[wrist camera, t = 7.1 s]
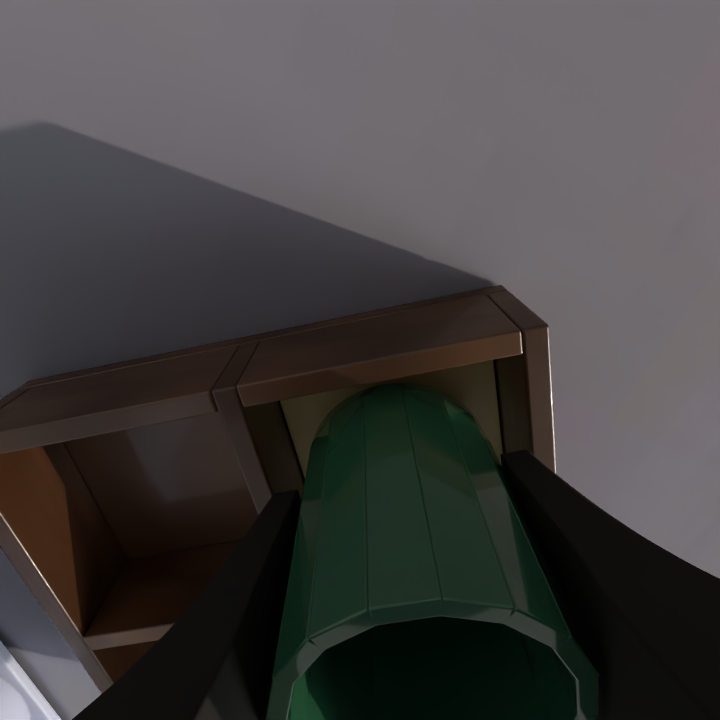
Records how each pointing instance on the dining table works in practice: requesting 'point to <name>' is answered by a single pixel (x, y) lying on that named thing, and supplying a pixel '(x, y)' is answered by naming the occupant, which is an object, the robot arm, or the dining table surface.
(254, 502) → the rack
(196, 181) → the dining table surface
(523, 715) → the tumbler
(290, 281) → the dining table surface
